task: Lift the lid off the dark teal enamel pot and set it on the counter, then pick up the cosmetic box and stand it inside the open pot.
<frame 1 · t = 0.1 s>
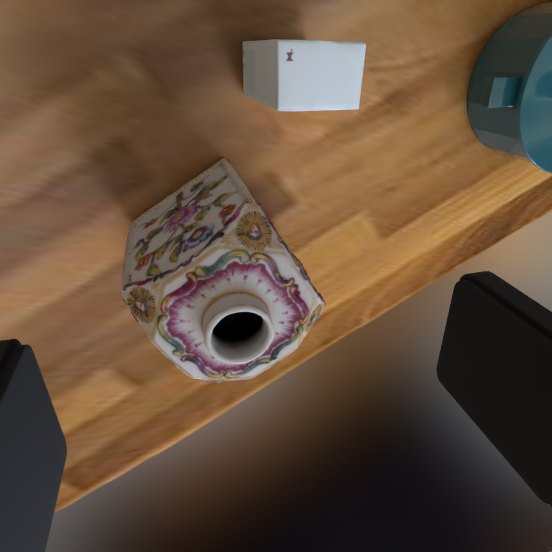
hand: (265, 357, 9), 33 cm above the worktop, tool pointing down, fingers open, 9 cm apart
pot: (527, 83, 44), on the worktop
cosmetic box: (275, 69, 37), on the worktop
decorative jar: (211, 233, 43), on the worktop
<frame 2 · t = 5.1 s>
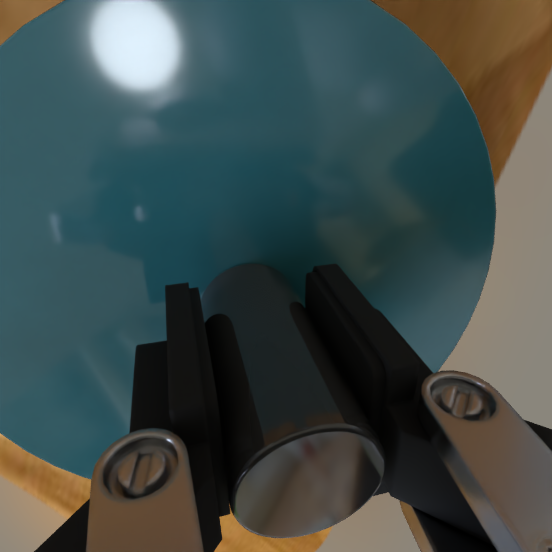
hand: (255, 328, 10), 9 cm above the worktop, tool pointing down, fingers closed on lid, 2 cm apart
lid: (244, 296, 12), point 8 cm above the worktop, touching gripper, pot
when the fingers open (2 cm above the worktop, at t = 12.7 s): lid stays where it is, point 1 cm above the worktop.
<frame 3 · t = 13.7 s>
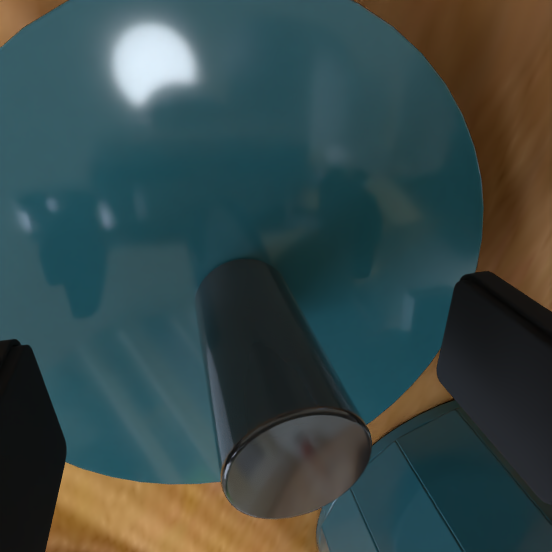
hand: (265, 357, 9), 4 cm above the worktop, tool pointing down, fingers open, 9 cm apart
lid: (238, 291, 12), point 1 cm above the worktop
pot: (446, 496, 21), on the worktop
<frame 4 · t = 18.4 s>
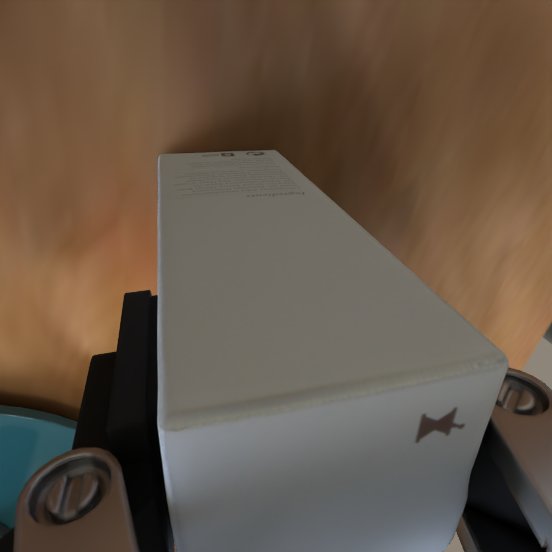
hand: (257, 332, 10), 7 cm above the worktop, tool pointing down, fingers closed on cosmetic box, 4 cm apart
cosmetic box: (220, 228, 16), on the worktop, touching gripper
when the fingers open (7 cm above the worktop, at t = 26.0 s): cosmetic box stays where it is, resting on pot.
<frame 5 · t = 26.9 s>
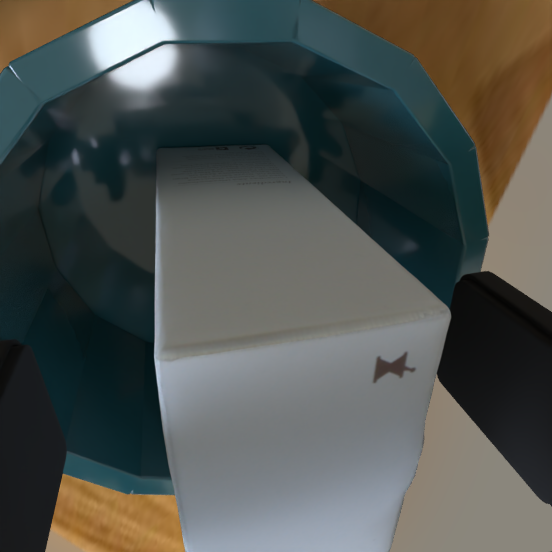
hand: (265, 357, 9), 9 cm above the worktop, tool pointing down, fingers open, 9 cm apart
pot: (213, 217, 17), on the worktop
cosmetic box: (215, 219, 17), resting on pot
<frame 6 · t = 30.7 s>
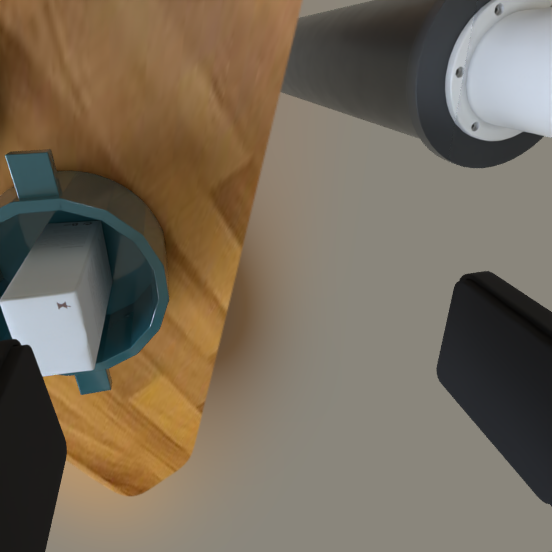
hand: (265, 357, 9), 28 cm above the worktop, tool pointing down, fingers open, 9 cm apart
pot: (81, 252, 36), on the worktop
cosmetic box: (81, 253, 36), resting on pot
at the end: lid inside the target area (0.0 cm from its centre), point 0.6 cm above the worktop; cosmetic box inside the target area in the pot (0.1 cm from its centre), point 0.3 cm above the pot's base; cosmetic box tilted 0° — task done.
